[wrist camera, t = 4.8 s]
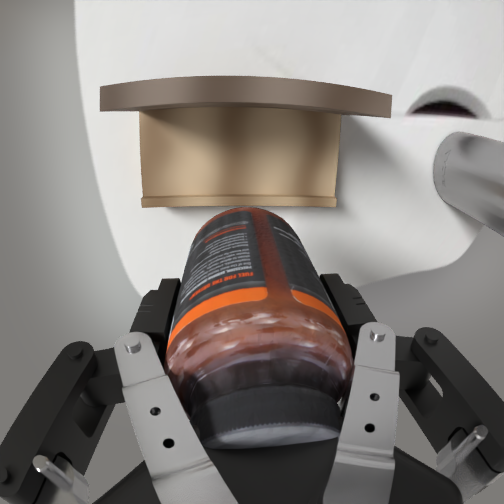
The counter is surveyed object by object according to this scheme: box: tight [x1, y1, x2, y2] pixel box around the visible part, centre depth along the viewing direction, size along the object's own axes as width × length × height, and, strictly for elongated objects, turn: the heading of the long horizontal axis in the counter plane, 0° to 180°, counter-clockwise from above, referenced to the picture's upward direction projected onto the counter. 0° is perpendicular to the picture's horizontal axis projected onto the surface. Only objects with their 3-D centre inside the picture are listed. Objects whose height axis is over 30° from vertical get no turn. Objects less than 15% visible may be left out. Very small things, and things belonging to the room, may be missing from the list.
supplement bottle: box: [164, 207, 353, 449], centre depth 11 cm, size 6×6×11 cm
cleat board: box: [100, 76, 392, 208], centre depth 21 cm, size 17×10×11 cm, turn 88°
